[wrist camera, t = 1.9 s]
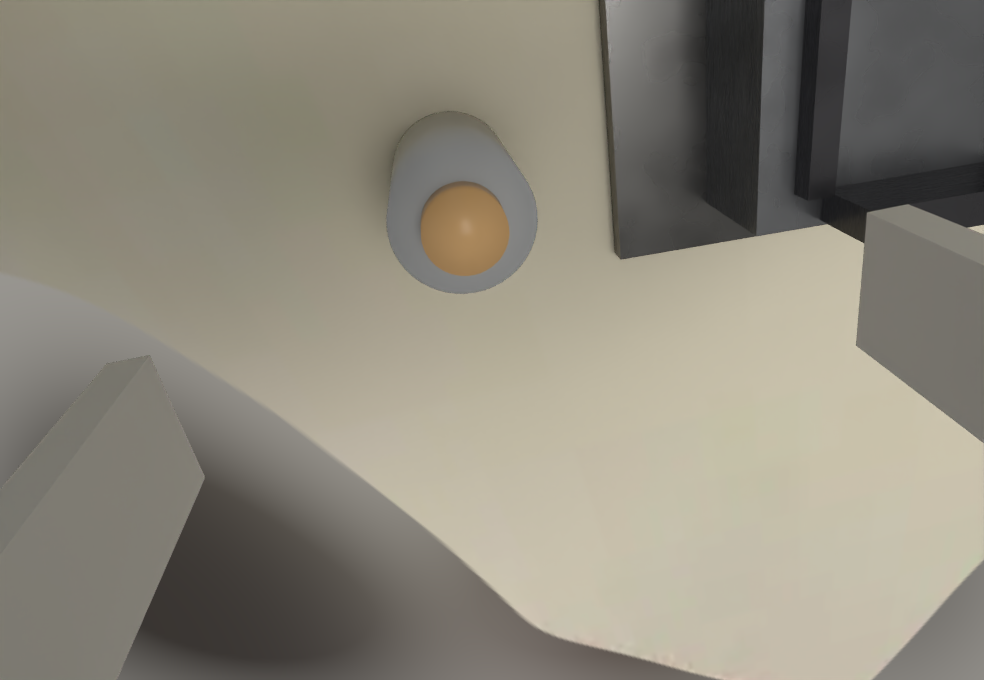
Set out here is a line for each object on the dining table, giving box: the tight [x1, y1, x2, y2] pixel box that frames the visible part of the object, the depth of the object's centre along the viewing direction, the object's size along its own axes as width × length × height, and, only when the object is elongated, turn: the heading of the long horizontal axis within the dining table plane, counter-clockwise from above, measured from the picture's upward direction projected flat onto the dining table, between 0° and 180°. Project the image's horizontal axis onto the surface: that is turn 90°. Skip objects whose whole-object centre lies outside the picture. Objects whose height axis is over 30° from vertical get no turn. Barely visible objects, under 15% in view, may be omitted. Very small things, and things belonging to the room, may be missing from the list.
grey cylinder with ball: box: [387, 111, 538, 294], centre depth 26 cm, size 5×5×9 cm
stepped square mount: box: [599, 0, 984, 259], centre depth 25 cm, size 20×14×9 cm
